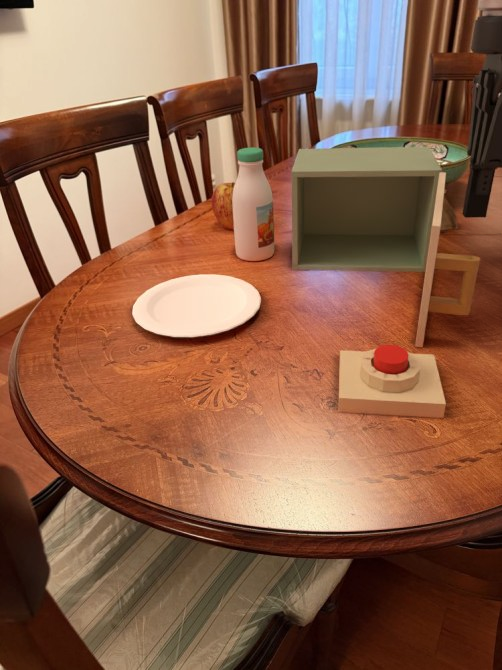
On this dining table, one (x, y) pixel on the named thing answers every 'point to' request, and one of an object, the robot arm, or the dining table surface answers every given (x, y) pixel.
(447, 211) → the rock
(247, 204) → the milk bottle
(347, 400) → the button base
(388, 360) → the button
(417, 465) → the dining table surface
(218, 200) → the apple
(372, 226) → the cupboard
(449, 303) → the door
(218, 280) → the plate
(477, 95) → the robot arm
